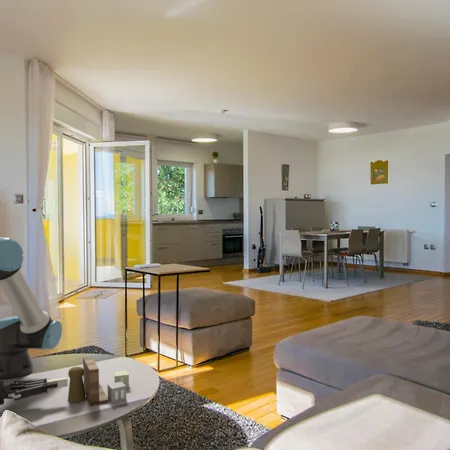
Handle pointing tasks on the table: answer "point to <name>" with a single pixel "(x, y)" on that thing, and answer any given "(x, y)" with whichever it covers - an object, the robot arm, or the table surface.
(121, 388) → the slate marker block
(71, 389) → the cork
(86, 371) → the backstop board
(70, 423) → the table surface
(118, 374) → the sage marker block
